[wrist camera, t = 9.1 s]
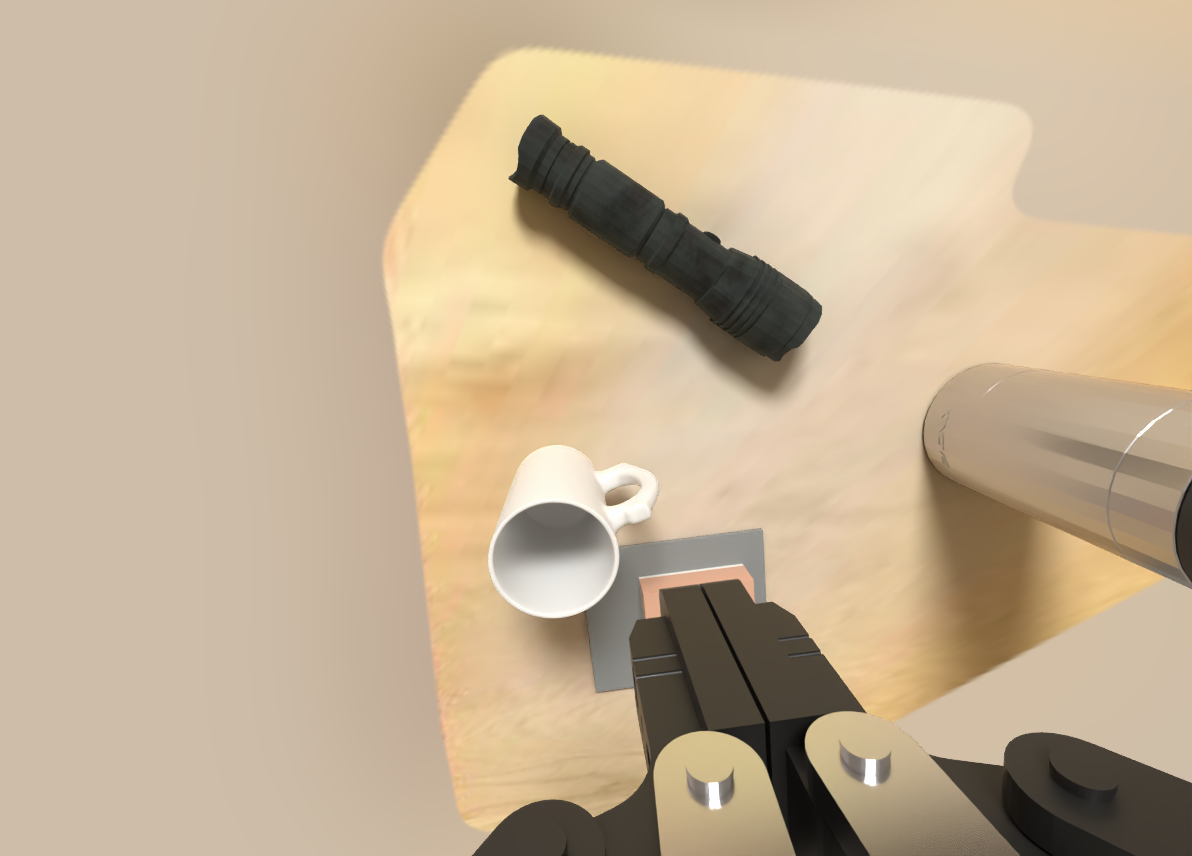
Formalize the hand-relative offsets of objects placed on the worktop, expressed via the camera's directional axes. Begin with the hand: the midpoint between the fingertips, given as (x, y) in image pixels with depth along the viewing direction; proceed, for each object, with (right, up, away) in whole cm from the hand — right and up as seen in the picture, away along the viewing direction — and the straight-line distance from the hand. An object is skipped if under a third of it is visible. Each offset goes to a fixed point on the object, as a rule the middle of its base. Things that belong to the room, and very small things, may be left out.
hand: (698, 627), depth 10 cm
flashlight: (+2, +16, +27) cm, 31 cm away
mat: (+4, -10, +32) cm, 34 cm away
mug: (-3, 0, +30) cm, 30 cm away
